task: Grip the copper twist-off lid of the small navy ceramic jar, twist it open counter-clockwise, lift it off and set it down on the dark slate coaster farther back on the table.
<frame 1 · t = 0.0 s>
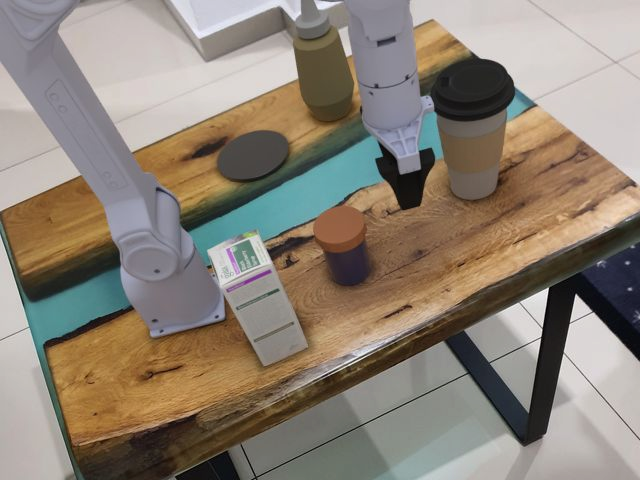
hand: (403, 183, 71), 10 cm above the table, tool pointing down, fingers open, 7 cm apart
squeeze bottle: (332, 111, 99), on the table
syrup box: (279, 341, 75), on the table
coaster: (253, 157, 96), on the table
jar lid: (339, 226, 73), point 7 cm above the table, screwed on, not yet turned
coffee cup: (474, 185, 83), on the table
jar: (350, 269, 79), on the table
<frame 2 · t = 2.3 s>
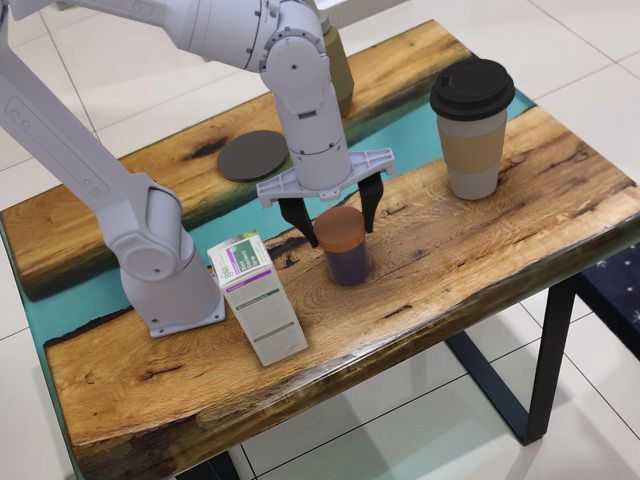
hand: (341, 234, 74), 6 cm above the table, tool pointing down, fingers closed on jar lid, 6 cm apart
jar lid: (339, 226, 73), point 7 cm above the table, screwed on, not yet turned, touching gripper
everything else where it was.
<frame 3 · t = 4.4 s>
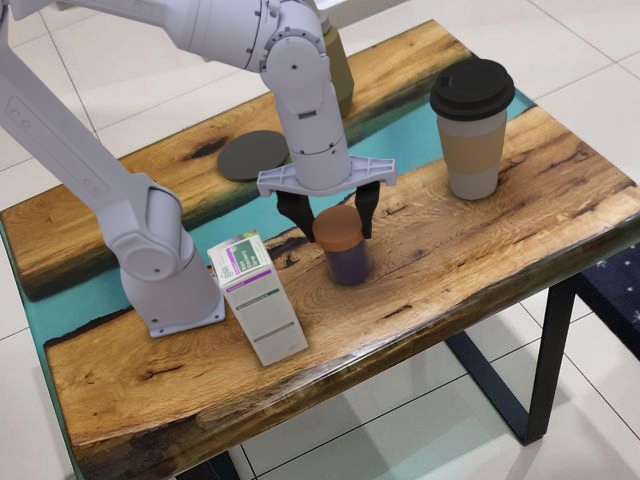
hand: (341, 234, 74), 6 cm above the table, tool pointing down, fingers closed on jar lid, 6 cm apart
jar lid: (338, 225, 73), point 7 cm above the table, off its thread, touching gripper
everything else where it was.
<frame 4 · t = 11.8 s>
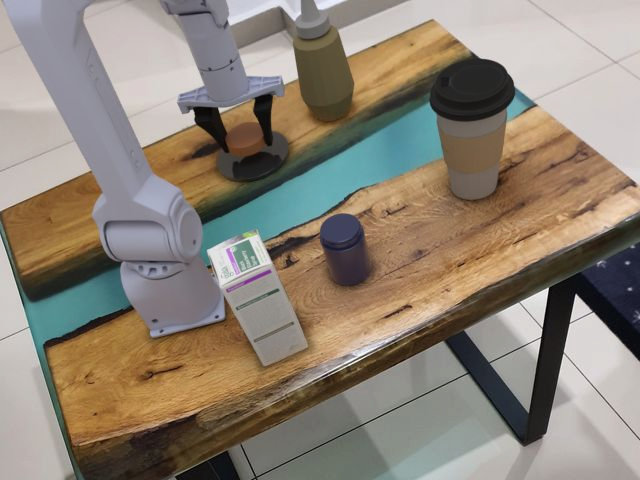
hand: (249, 145, 94), 2 cm above the table, tool pointing down, fingers closed on jar lid, 6 cm apart
jar lid: (245, 136, 93), point 4 cm above the table, off its thread, touching gripper
everything else where it was.
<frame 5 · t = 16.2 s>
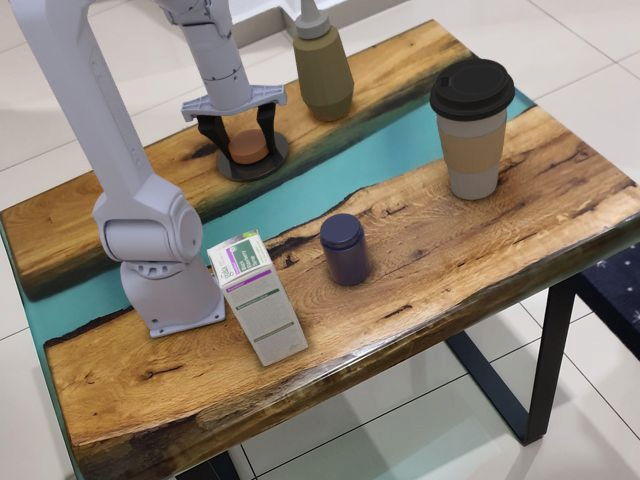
hand: (252, 152, 95), 1 cm above the table, tool pointing down, fingers closed on jar lid, 6 cm apart
jar lid: (248, 144, 94), point 2 cm above the table, off its thread, touching gripper
everything else where it was.
when the fingers open (2 cm above the table, at t = 21.5 s): jar lid drops 2 cm, resting on coaster.
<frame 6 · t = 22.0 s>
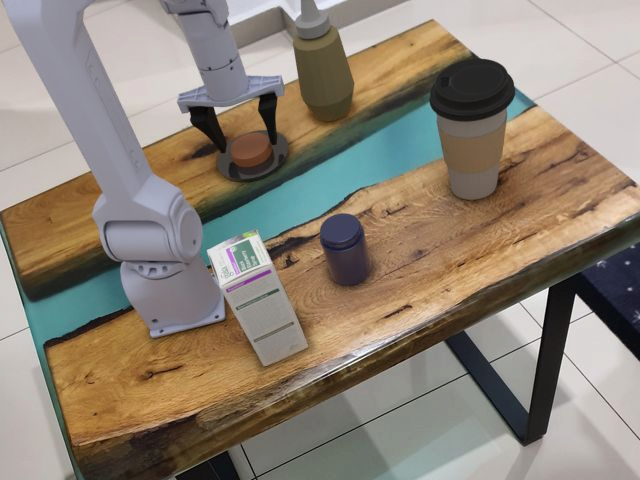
hand: (249, 144, 94), 2 cm above the table, tool pointing down, fingers open, 7 cm apart
jar lid: (250, 147, 94), point 2 cm above the table, off its thread, touching coaster
everything else where it was.
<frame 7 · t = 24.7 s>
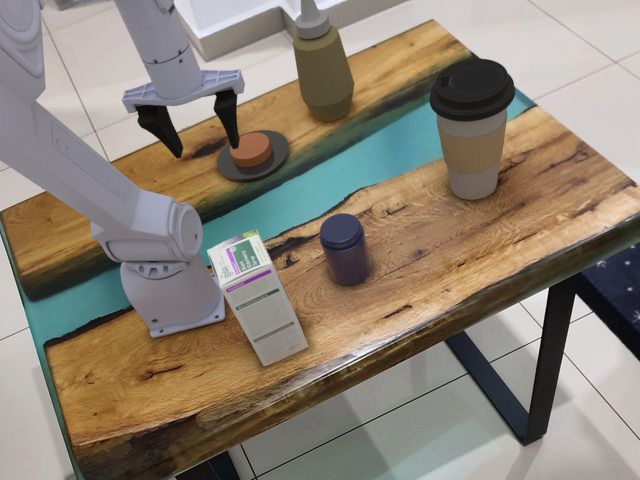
hand: (207, 148, 83), 9 cm above the table, tool pointing down, fingers open, 7 cm apart
nothing on the table moved.
at the end: jar lid came off its thread; jar lid inside the target area on the coaster (0.0 cm from its centre), point 1.7 cm above the coaster's base; the gripper is holding nothing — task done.
